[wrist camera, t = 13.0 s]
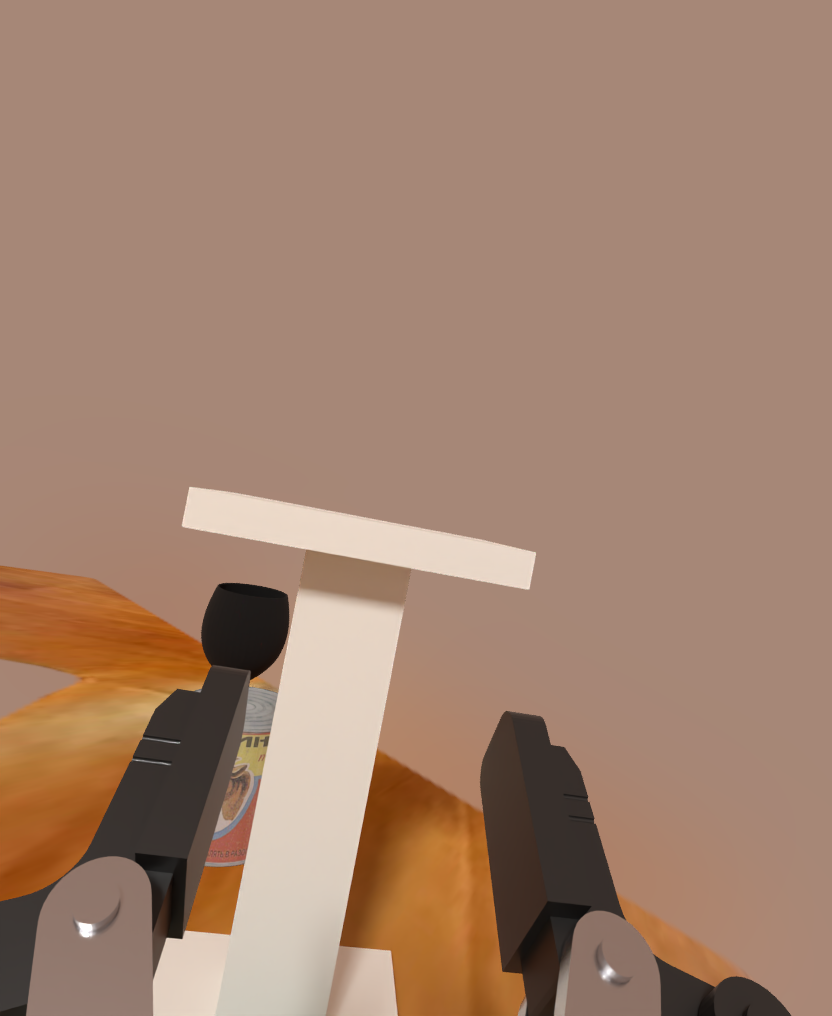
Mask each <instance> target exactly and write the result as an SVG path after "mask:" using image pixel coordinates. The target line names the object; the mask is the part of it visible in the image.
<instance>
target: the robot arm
mask: <svg viewBox="0 0 832 1016" xmlns="http://www.w3.org/2000/svg"><path fill="white" fill-rule="evenodd" d="M250 674H251V672H250V671H249V670H242V669H236V668H229V667H223V666H216V665H213V666H212V667H211V668H210V670H209V672H208V675H207V677H206V680H205V682H204V685H203V687H202V690H201V692H194V691H188V690H181V689H177V690H176V691H175V692H173V693H172V694H171V695H170V696H169V697H168V698H167V699H166V700H165V701H164V702H163V703H162V704H161V705H159V706H158V707H157V708H156V709H155V711H154V713H153V715H152V717H151V720H150V722H149V724H148V726H147V728H146V730H145V732H144V734H143V738H142V740H140V742H139V745H138V747H137V749H136V751H135V753H134V755H133V759H132V761H131V762H130V763H129V765H128V768H127V770H126V772H125V774H124V776H123V778H122V780H121V782H120V784H119V786H118V788H117V790H116V793H115V795H114V797H113V799H112V801H111V803H110V805H109V807H108V809H107V811H106V813H105V815H104V818H103V820H102V822H101V824H100V826H99V828H98V830H97V832H96V834H95V836H94V838H93V840H92V843H91V844H90V846H89V848H88V850H87V851H86V853H85V854H84V855H83V857H82V858H81V859H80V861H79V862H78V863H77V864H76V865H75V866H74V867H73V868H72V869H71V870H70V871H69V872H68V873H66V874H65V875H64V876H63V877H61V878H60V879H58V880H57V881H56V882H54V883H53V884H51V885H49V886H47V887H45V888H43V889H41V890H39V891H37V892H34V893H32V894H29V895H25V896H22V897H18V898H13V899H9V900H5V901H0V1016H153V979H154V976H155V973H156V970H157V967H158V963H159V960H160V957H161V954H162V951H163V948H164V945H165V942H166V938H175V939H183V936H184V932H185V929H186V926H187V922H188V919H189V915H190V912H191V909H192V905H193V902H194V899H195V895H196V892H197V889H198V885H199V882H200V879H201V875H202V872H203V869H204V865H205V862H206V858H207V855H208V852H209V848H210V845H211V842H212V838H213V835H214V832H215V828H216V825H217V822H218V818H219V815H220V812H221V808H222V805H223V801H224V798H225V795H226V791H227V788H228V785H229V781H230V778H231V775H232V771H233V768H234V765H235V761H236V758H237V754H238V751H239V747H240V743H241V739H242V734H243V729H244V723H245V716H246V708H247V700H248V692H249V683H250ZM480 786H481V796H482V804H483V813H484V821H485V830H486V838H487V846H488V855H489V863H490V871H491V880H492V888H493V896H494V905H495V913H496V921H497V930H498V938H499V946H500V955H501V963H502V971H503V972H511V973H521V974H523V980H524V987H525V994H526V996H525V997H524V999H523V1001H522V1003H521V1005H520V1009H519V1013H518V1016H791V1015H790V1013H789V1012H788V1011H787V1010H786V1008H785V1007H784V1006H783V1005H782V1004H781V1002H780V1001H778V1000H777V998H776V997H775V996H773V995H772V994H771V993H770V992H769V991H768V990H766V989H765V988H764V987H762V986H761V985H759V984H757V983H756V982H754V981H752V980H749V979H746V978H743V977H737V976H736V977H729V978H726V979H724V980H723V981H722V982H721V983H719V984H718V985H717V986H716V987H714V986H712V985H710V984H708V983H706V982H704V981H701V980H699V979H697V978H695V977H693V976H691V975H689V974H687V973H685V972H683V971H681V970H679V969H677V968H675V967H673V966H671V965H669V964H667V963H666V962H664V961H662V960H661V959H659V958H658V957H657V956H655V955H654V954H653V953H652V951H651V949H650V947H649V945H648V944H647V942H646V941H645V939H644V938H643V937H642V936H641V934H640V933H639V932H638V931H637V930H636V929H635V928H634V927H633V926H632V925H631V924H630V923H628V922H627V921H626V919H625V917H624V915H623V913H622V910H621V907H620V904H619V901H618V898H617V894H616V891H615V887H614V884H613V880H612V877H611V874H610V870H609V867H608V863H607V860H606V857H605V854H604V850H603V847H602V843H601V840H600V836H599V833H598V829H597V826H596V824H594V816H593V812H592V809H591V806H590V803H589V802H588V800H587V799H588V795H587V792H586V789H585V785H584V782H583V778H582V775H581V771H580V770H579V768H578V767H577V765H576V764H575V762H574V761H573V760H572V758H571V756H570V755H569V754H568V752H567V750H566V749H565V748H564V747H560V746H553V745H551V744H550V740H549V736H548V732H547V728H546V725H545V722H544V719H543V718H542V717H540V716H536V715H529V714H522V713H516V712H510V711H506V712H504V714H503V715H502V717H501V719H500V721H499V723H498V726H497V728H496V730H495V733H494V735H493V737H492V740H491V742H490V744H489V746H488V749H487V751H486V753H485V756H484V758H483V762H482V767H481V776H480Z"/></svg>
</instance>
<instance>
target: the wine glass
mask: <svg viewBox="0 0 832 1016" xmlns="http://www.w3.org/2000/svg"><path fill="white" fill-rule="evenodd" d="M288 627H289V602H288V595H287V594H285V593H283V592H281V591H278V590H275V589H271V588H267V587H262V586H257V585H249V584H240V583H222V584H219V585H218V586H217V588H216V590H215V591H214V593H213V596H212V597H211V600H210V602H209V604H208V606H207V609H206V612H205V616H204V619H203V624H202V632H201V636H202V637H201V638H202V646H203V650H204V653H205V655H206V658H207V660H208V661H209V663H210V664H211V666H213V665H216V666H223V667H229V668H236V669H242V670H249V671H250V672H251V674H250V680H251V679H253V678H255V677H257V676H258V675H260V674H261V673H263V672H264V671H265V670H267V669H268V668H269V667H270V666H271V665H272V664H273V663H274V662H275V661H276V659H277V658H278V656H279V655H280V653H281V651H282V649H283V647H284V644H285V641H286V638H287V634H288Z"/></svg>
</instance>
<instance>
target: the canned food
mask: <svg viewBox="0 0 832 1016" xmlns="http://www.w3.org/2000/svg"><path fill="white" fill-rule="evenodd" d="M201 690H202V689H199V690H196V691H194V692H201ZM277 696H278V693H276V692H273V691H269V690H265V689H260V688H254V687H249V692H248V700H247V708H246V716H245V723H244V729H243V734H242V739H241V743H240V747H239V751H238V754H237V758H236V761H235V765H234V768H233V771H232V775H231V778H230V781H229V785H228V788H227V791H226V795H225V798H224V801H223V805H222V808H221V812H220V815H219V818H218V822H217V825H216V828H215V832H214V835H213V838H212V842H211V845H210V848H209V852H208V855H207V858H206V862H205V865H204V866H211V867H227V866H235V865H241V864H245V860H246V855H247V850H248V845H249V839H250V834H251V829H252V824H253V819H254V814H255V809H256V804H257V799H258V793H259V788H260V783H261V778H262V773H263V768H264V763H265V758H266V753H267V748H268V742H269V737H270V732H271V727H272V722H273V717H274V712H275V707H276V702H277Z"/></svg>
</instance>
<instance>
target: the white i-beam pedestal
mask: <svg viewBox="0 0 832 1016" xmlns="http://www.w3.org/2000/svg"><path fill="white" fill-rule="evenodd" d="M182 527H186V528H192V529H197V530H203V531H208V532H214V533H219V534H225V535H230V536H236V537H241V538H247V539H252V540H258V541H263V542H269V543H274V544H280V545H286V546H291V547H296V548H302V549H306V554H305V559H304V564H303V569H302V574H301V579H300V584H299V590H298V594H297V599H296V605H295V610H294V615H293V620H292V625H291V630H290V636H289V641H288V645H287V651H286V656H285V661H284V666H283V671H282V676H281V681H280V686H279V691H278V696H277V702H276V707H275V712H274V717H273V722H272V727H271V732H270V737H269V742H268V748H267V753H266V758H265V763H264V768H263V773H262V778H261V783H260V788H259V793H258V799H257V804H256V809H255V814H254V819H253V824H252V829H251V834H250V839H249V845H248V850H247V855H246V860H245V865H244V870H243V875H242V880H241V885H240V891H239V896H238V901H237V906H236V911H235V916H234V921H233V926H232V931H231V935H223V934H213V933H203V932H193V931H185V932H184V936H183V939H175V938H166V942H165V945H164V948H163V951H162V954H161V957H160V960H159V963H158V967H157V970H156V973H155V976H154V979H153V1016H398V1015H397V1005H396V995H395V986H394V976H393V966H392V957H391V951H386V950H376V949H366V948H356V947H345V946H339V944H340V938H341V933H342V928H343V923H344V918H345V912H346V907H347V902H348V897H349V892H350V886H351V881H352V876H353V871H354V865H355V860H356V855H357V850H358V845H359V839H360V834H361V829H362V824H363V818H364V813H365V808H366V803H367V798H368V792H369V787H370V782H371V777H372V772H373V766H374V761H375V756H376V751H377V745H378V740H379V735H380V729H381V725H382V719H383V713H384V709H385V704H386V699H387V693H388V688H389V683H390V678H391V672H392V667H393V662H394V656H395V652H396V646H397V641H398V636H399V631H400V625H401V620H402V615H403V610H404V604H405V599H406V594H407V589H408V584H409V579H410V573H411V568H412V569H418V570H423V571H429V572H434V573H440V574H445V575H451V576H456V577H462V578H468V579H473V580H478V581H484V582H489V583H495V584H501V585H506V586H511V587H517V588H523V589H528V590H529V588H530V583H531V578H532V572H533V567H534V561H535V556H536V552H531V551H527V550H523V549H518V548H515V547H510V546H506V545H502V544H498V543H494V542H489V541H485V540H481V539H475V538H470V537H465V536H460V535H454V534H449V533H444V532H439V531H434V530H428V529H423V528H417V527H413V526H407V525H402V524H397V523H392V522H386V521H381V520H376V519H370V518H365V517H360V516H354V515H349V514H344V513H339V512H334V511H328V510H323V509H318V508H313V507H307V506H302V505H297V504H291V503H286V502H281V501H276V500H271V499H266V498H260V497H255V496H250V495H244V494H239V493H233V492H225V491H218V490H210V489H202V488H194V487H190V488H189V493H188V498H187V503H186V508H185V513H184V518H183V523H182Z"/></svg>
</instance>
